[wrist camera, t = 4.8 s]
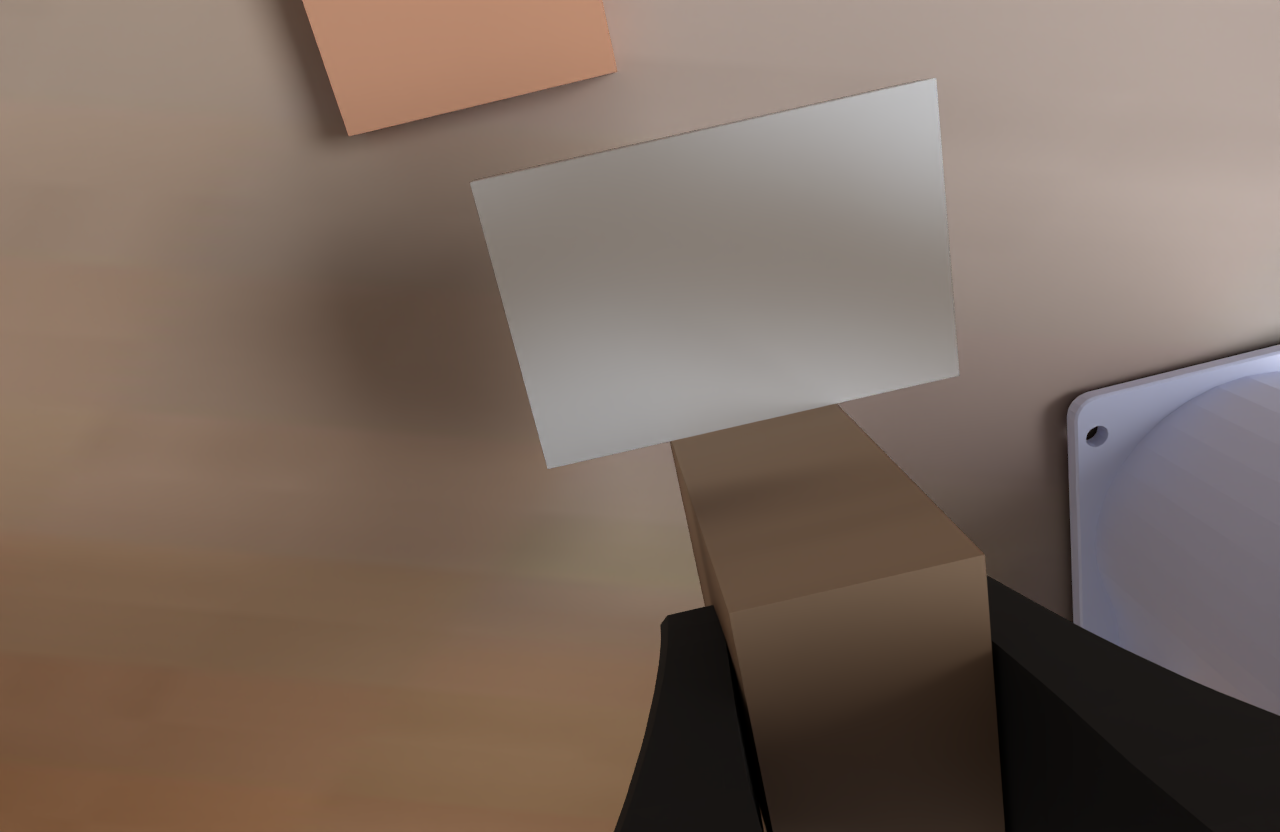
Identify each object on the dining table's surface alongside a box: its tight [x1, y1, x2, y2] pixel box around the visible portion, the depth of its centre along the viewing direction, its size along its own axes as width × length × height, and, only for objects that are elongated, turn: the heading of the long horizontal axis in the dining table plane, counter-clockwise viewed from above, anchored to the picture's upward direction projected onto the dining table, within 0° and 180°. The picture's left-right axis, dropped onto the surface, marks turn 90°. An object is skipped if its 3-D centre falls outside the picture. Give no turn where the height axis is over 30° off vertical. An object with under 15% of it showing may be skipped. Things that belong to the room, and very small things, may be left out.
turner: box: [470, 78, 1005, 832], centre depth 10 cm, size 9×6×5 cm, turn 12°
